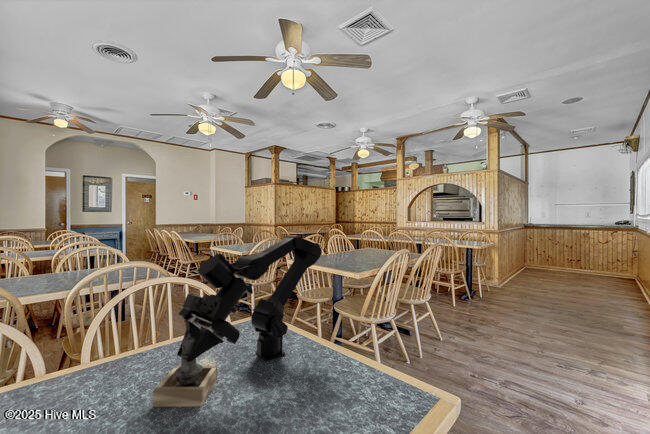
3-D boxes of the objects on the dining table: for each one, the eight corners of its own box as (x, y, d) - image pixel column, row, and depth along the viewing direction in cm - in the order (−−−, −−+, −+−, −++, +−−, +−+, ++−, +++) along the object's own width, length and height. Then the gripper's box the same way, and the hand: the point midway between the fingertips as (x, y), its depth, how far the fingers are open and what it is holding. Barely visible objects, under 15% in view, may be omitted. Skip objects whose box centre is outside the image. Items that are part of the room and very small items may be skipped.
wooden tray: (175, 380, 71) (175, 366, 71) (217, 380, 71) (217, 365, 71) (152, 406, 61) (153, 389, 61) (201, 406, 61) (201, 389, 61)
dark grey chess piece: (199, 391, 64) (200, 337, 64) (170, 395, 63) (171, 339, 63) (204, 377, 70) (205, 327, 70) (177, 380, 68) (178, 329, 68)
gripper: (186, 275, 75) (138, 330, 66) (228, 285, 64) (177, 354, 55) (214, 299, 81) (173, 352, 72) (257, 312, 70) (214, 378, 61)
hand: (182, 358), depth 65 cm, fingers closed on dark grey chess piece, 4 cm apart
